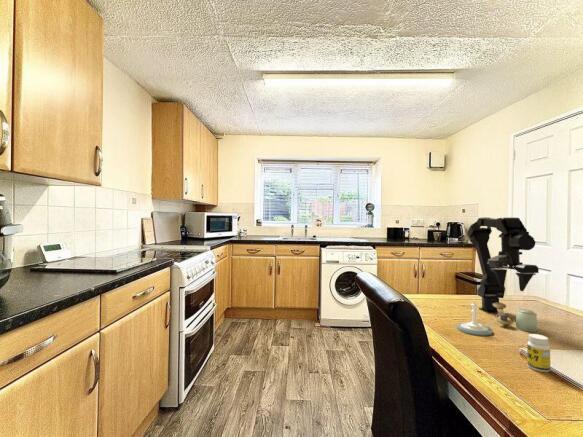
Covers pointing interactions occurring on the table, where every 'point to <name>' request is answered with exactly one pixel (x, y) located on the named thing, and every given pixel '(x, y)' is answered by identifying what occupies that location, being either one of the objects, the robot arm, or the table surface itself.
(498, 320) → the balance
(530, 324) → the sage cup
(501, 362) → the table surface
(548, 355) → the supplement bottle
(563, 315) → the table surface
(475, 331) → the dish
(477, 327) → the chess piece
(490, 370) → the table surface
